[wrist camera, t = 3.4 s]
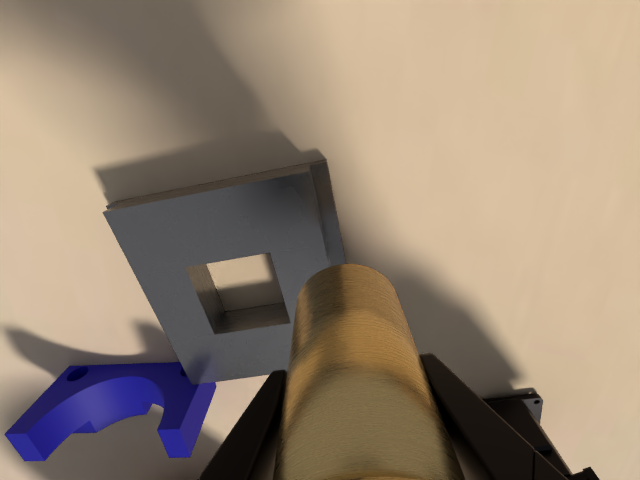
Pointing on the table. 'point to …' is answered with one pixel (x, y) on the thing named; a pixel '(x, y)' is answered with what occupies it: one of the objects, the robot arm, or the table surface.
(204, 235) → the plate
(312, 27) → the table surface
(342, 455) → the gold flared cylinder
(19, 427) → the cable clip
